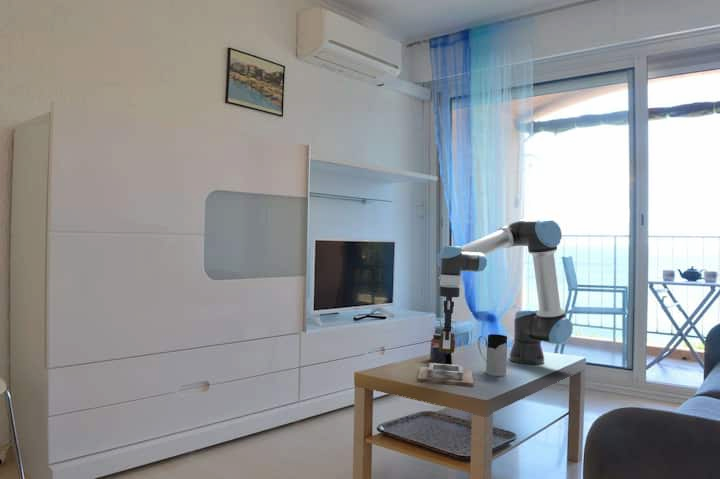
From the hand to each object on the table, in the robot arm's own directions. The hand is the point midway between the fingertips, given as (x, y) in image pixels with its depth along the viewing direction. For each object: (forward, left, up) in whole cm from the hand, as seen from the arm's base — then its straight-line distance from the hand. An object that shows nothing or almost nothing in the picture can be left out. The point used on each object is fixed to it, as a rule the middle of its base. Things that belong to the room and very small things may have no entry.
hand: (446, 346), depth 204 cm
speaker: (+2, -20, -12) cm, 23 cm away
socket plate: (0, 0, -12) cm, 12 cm away
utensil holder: (0, 0, -2) cm, 2 cm away
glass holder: (-18, -17, -12) cm, 28 cm away
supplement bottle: (+4, -31, -12) cm, 34 cm away
